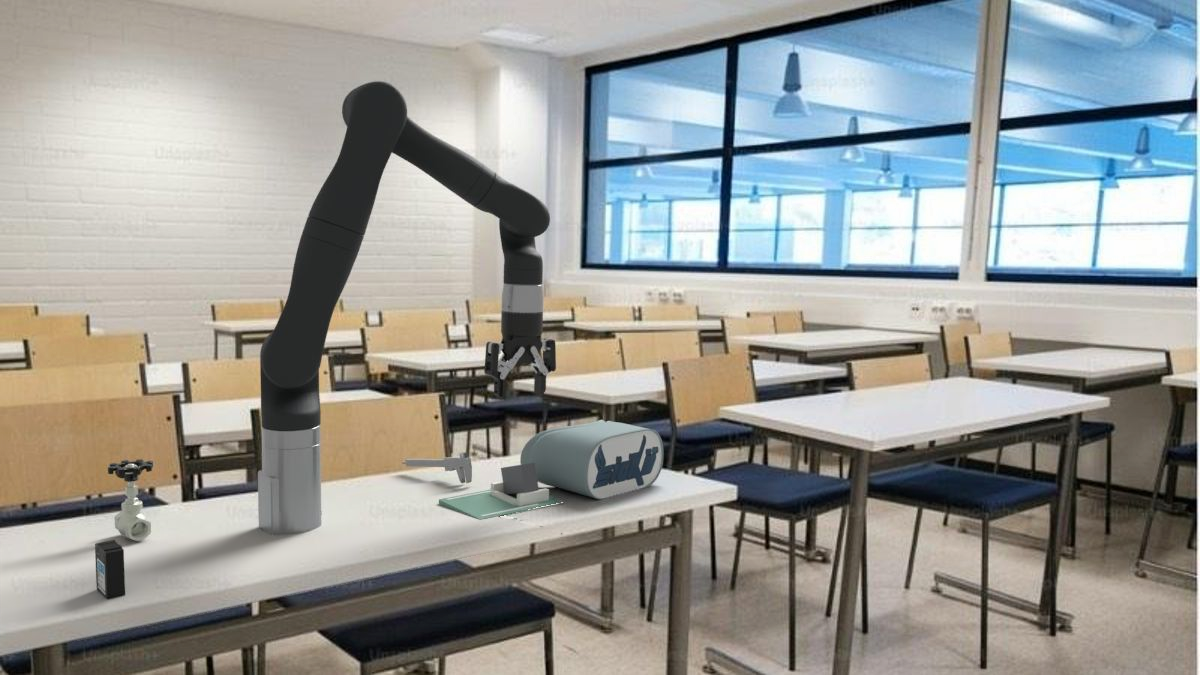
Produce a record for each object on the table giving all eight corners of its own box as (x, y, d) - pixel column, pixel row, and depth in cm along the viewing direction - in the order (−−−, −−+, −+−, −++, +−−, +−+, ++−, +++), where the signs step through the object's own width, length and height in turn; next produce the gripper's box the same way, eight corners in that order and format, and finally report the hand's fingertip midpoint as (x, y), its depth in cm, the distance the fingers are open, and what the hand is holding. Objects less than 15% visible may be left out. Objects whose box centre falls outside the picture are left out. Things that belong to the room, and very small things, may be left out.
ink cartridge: (96, 599, 122) (93, 541, 121) (114, 595, 123) (112, 537, 122) (106, 611, 118) (104, 551, 117) (125, 606, 120) (123, 548, 119)
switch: (521, 464, 165) (499, 468, 171) (525, 492, 165) (503, 494, 171) (534, 462, 167) (512, 465, 173) (538, 489, 167) (516, 492, 172)
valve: (117, 547, 141) (114, 472, 139) (103, 536, 145) (101, 463, 144) (162, 538, 145) (160, 465, 144) (147, 528, 150) (145, 456, 149)
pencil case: (585, 509, 167) (587, 441, 165) (517, 487, 180) (518, 423, 178) (662, 487, 183) (665, 424, 181) (594, 468, 196) (596, 409, 194)
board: (480, 526, 156) (480, 507, 155) (438, 505, 166) (438, 488, 166) (563, 507, 167) (564, 490, 167) (519, 489, 178) (520, 473, 177)
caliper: (471, 484, 179) (472, 453, 179) (467, 485, 178) (468, 454, 178) (405, 464, 192) (406, 434, 191) (401, 465, 191) (401, 435, 190)
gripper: (501, 312, 158) (499, 404, 160) (566, 309, 167) (563, 396, 169) (477, 308, 163) (476, 397, 165) (541, 306, 172) (539, 390, 174)
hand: (520, 397), depth 167 cm, fingers open, 8 cm apart
